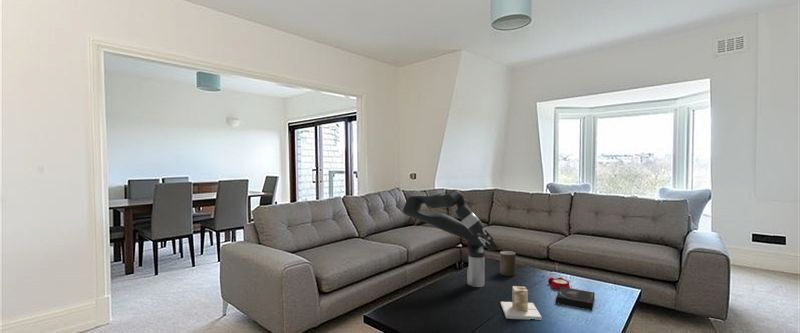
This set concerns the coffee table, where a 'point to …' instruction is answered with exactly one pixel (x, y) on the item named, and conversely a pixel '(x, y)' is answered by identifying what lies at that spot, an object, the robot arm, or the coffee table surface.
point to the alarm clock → (558, 283)
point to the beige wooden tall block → (520, 298)
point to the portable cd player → (575, 298)
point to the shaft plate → (520, 312)
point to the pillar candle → (508, 263)
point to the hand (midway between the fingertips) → (494, 249)
